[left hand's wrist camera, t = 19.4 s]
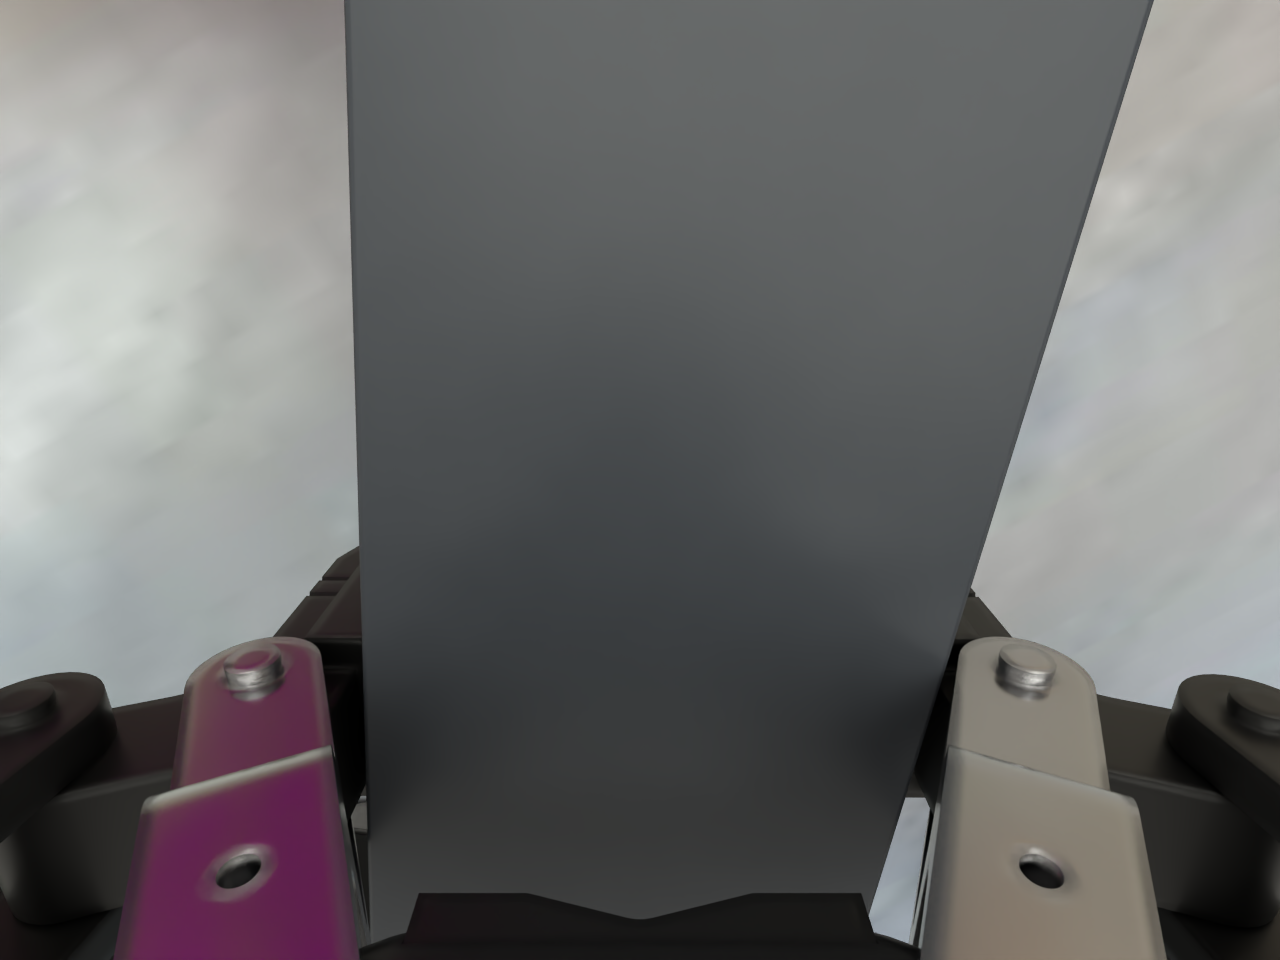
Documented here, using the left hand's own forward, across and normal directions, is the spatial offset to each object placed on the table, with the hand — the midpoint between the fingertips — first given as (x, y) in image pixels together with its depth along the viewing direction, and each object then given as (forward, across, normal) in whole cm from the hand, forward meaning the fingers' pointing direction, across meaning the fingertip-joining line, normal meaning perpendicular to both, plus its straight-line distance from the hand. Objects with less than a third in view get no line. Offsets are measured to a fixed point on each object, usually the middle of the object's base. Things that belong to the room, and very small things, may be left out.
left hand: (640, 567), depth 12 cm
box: (+6, -1, -9) cm, 11 cm away
